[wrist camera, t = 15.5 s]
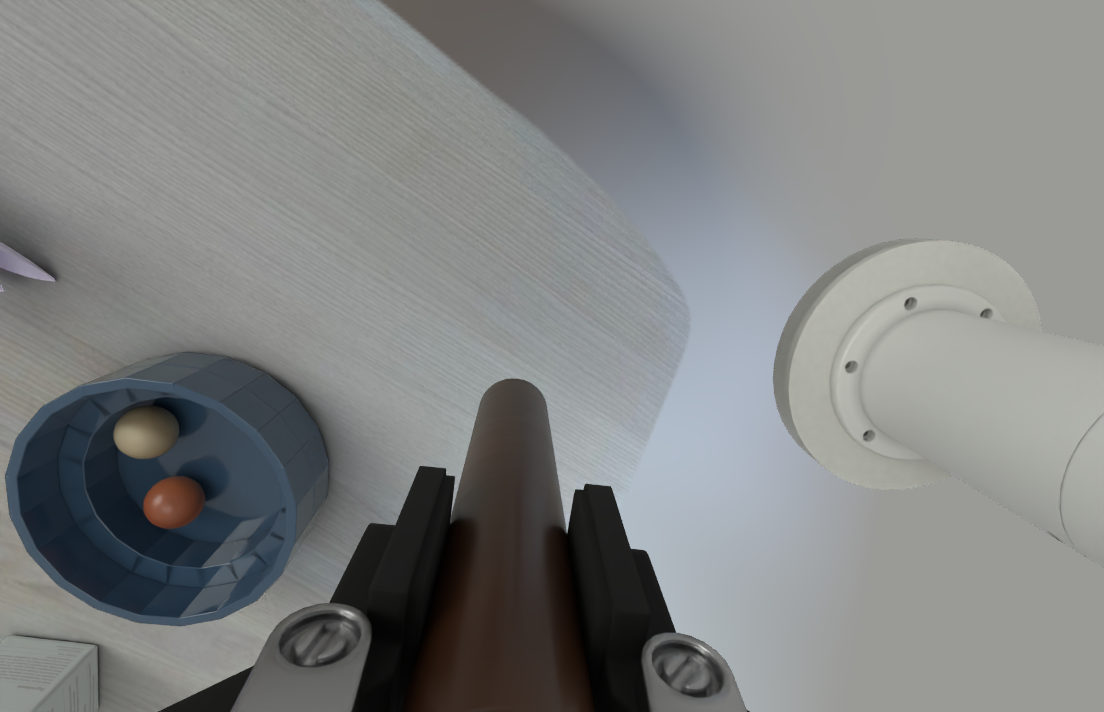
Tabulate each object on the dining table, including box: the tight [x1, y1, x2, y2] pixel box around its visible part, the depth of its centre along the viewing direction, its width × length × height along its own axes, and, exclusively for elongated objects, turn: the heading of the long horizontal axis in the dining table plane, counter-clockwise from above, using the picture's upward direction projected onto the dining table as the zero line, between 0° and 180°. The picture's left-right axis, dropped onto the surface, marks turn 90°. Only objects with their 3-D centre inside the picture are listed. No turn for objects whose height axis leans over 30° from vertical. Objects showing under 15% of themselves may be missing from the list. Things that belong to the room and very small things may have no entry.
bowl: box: [5, 352, 329, 626], centre depth 33 cm, size 15×15×6 cm
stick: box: [401, 379, 595, 712], centre depth 14 cm, size 3×3×15 cm
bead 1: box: [113, 406, 179, 459], centre depth 33 cm, size 3×3×3 cm
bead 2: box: [143, 476, 205, 529], centre depth 34 cm, size 3×3×3 cm
